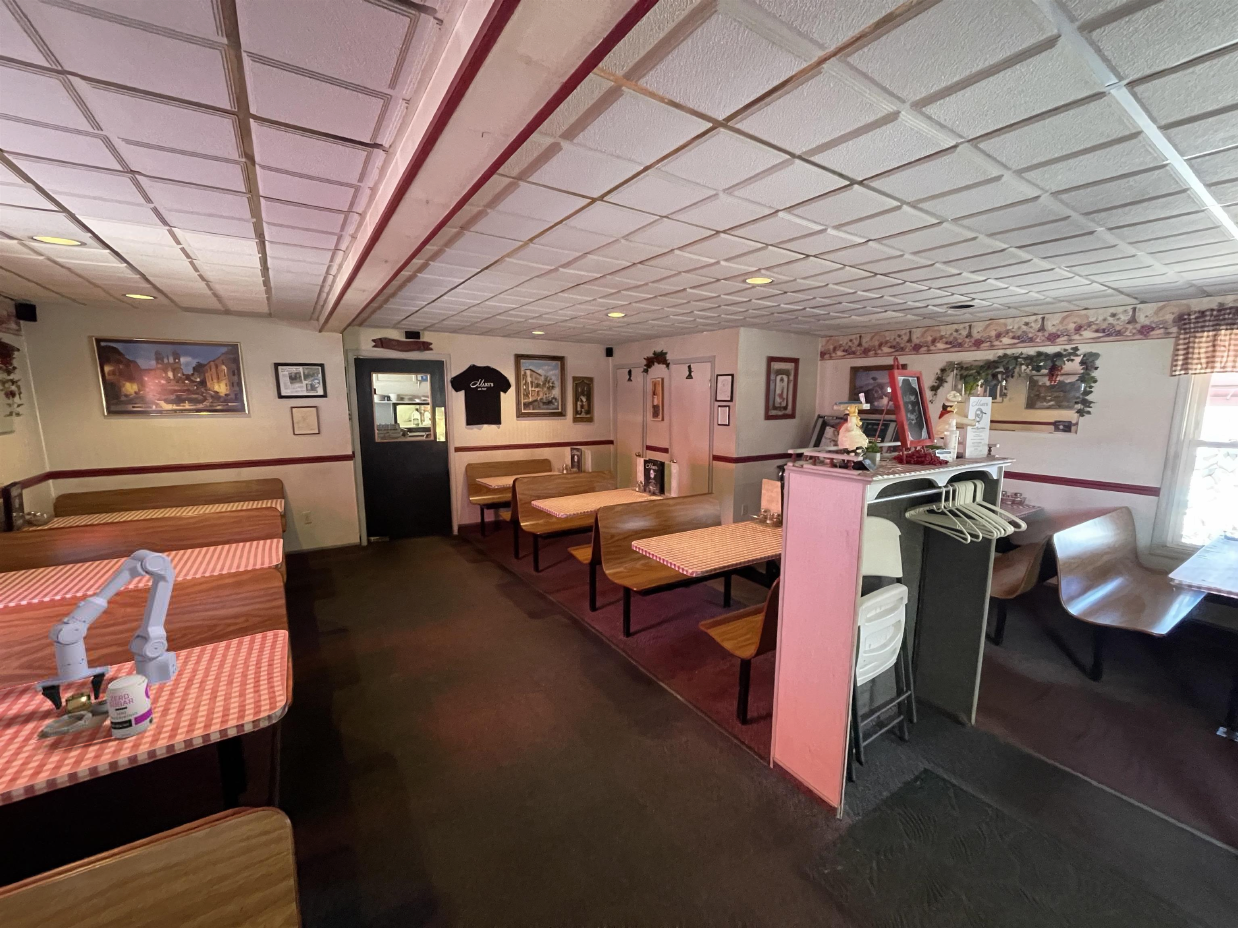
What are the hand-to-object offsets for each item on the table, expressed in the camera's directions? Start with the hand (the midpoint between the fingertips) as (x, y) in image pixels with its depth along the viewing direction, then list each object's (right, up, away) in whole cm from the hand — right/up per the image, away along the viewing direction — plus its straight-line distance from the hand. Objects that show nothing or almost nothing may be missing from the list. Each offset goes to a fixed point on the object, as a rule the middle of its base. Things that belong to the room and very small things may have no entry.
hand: (78, 703), depth 141 cm
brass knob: (0, -2, 0) cm, 2 cm away
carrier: (+5, -3, -3) cm, 6 cm away
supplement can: (+24, -4, -7) cm, 26 cm away
